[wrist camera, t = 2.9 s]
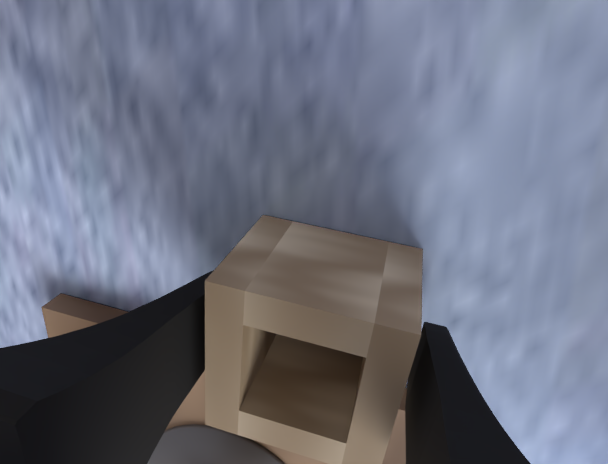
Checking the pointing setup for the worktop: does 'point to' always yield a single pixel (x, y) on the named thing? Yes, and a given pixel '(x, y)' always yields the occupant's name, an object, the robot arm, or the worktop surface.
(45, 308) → the post board
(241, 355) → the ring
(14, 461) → the robot arm
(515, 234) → the worktop surface
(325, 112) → the worktop surface
